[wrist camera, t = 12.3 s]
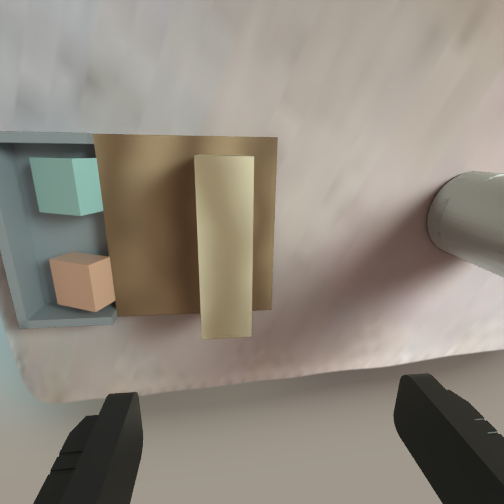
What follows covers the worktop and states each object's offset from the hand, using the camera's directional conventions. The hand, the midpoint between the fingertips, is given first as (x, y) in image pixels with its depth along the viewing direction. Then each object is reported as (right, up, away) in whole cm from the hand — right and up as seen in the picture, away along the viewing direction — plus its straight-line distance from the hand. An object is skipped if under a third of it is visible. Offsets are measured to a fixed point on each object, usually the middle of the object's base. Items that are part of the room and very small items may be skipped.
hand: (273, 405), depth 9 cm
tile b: (-16, +2, +21) cm, 27 cm away
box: (-18, +7, +21) cm, 29 cm away
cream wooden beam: (-3, +7, +20) cm, 22 cm away
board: (-6, +7, +22) cm, 24 cm away
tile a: (-16, +11, +18) cm, 26 cm away
